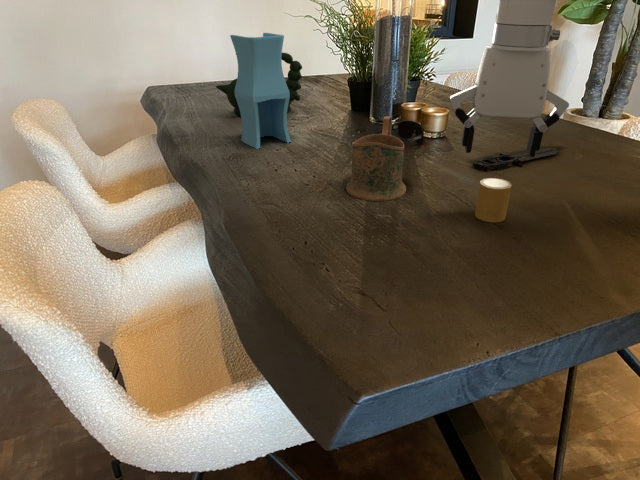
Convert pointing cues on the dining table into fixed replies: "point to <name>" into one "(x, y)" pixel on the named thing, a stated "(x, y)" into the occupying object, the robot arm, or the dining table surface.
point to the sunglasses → (409, 131)
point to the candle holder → (492, 200)
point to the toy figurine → (291, 83)
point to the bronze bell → (377, 166)
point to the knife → (510, 159)
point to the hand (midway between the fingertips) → (498, 152)
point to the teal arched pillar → (261, 88)
